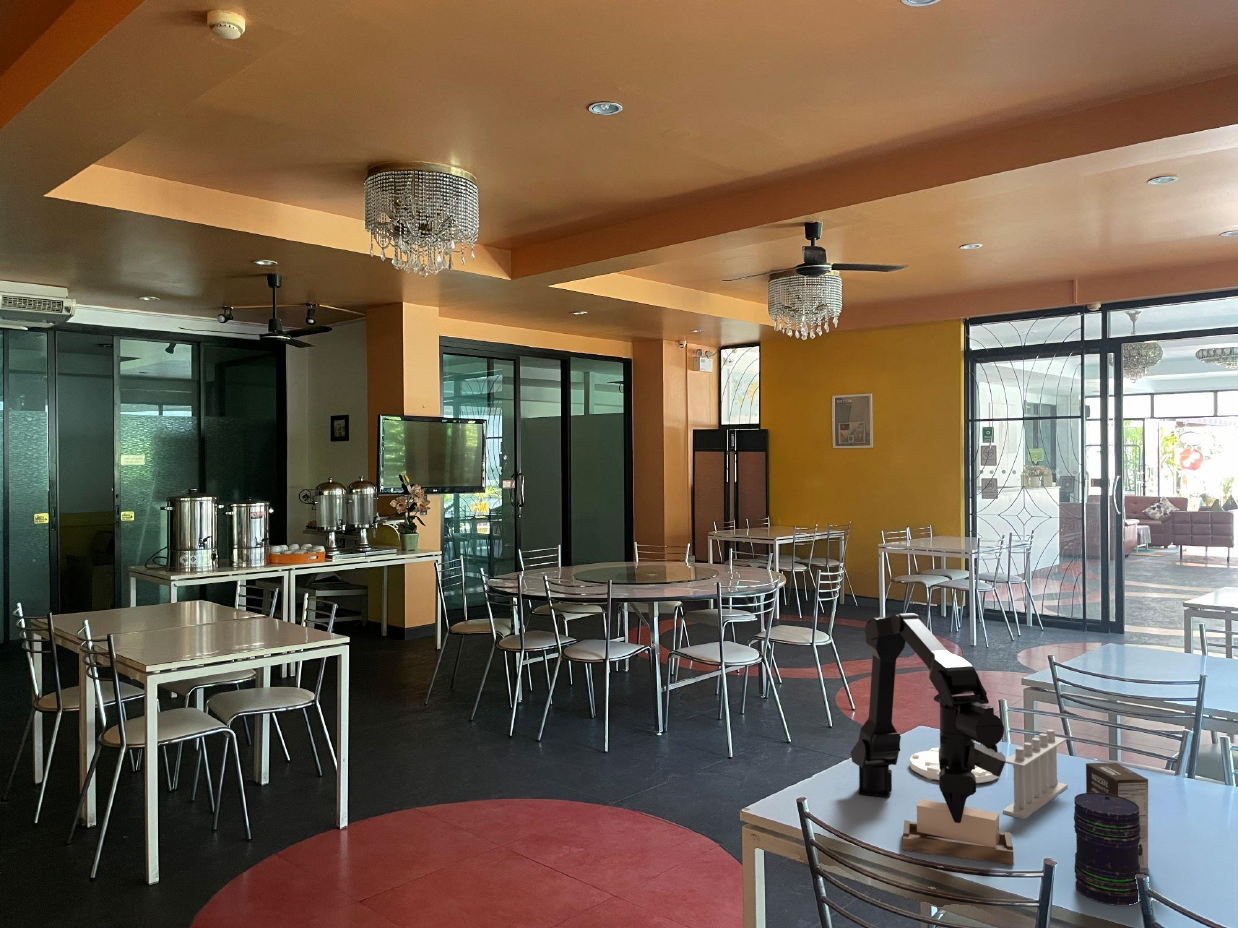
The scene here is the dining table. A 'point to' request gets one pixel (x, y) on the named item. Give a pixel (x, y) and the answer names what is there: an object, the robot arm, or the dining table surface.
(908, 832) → the cradle
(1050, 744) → the test tube rack
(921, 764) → the embossed medallion
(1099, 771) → the coffee box
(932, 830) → the clay bar
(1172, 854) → the dining table surface
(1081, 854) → the storage jar
